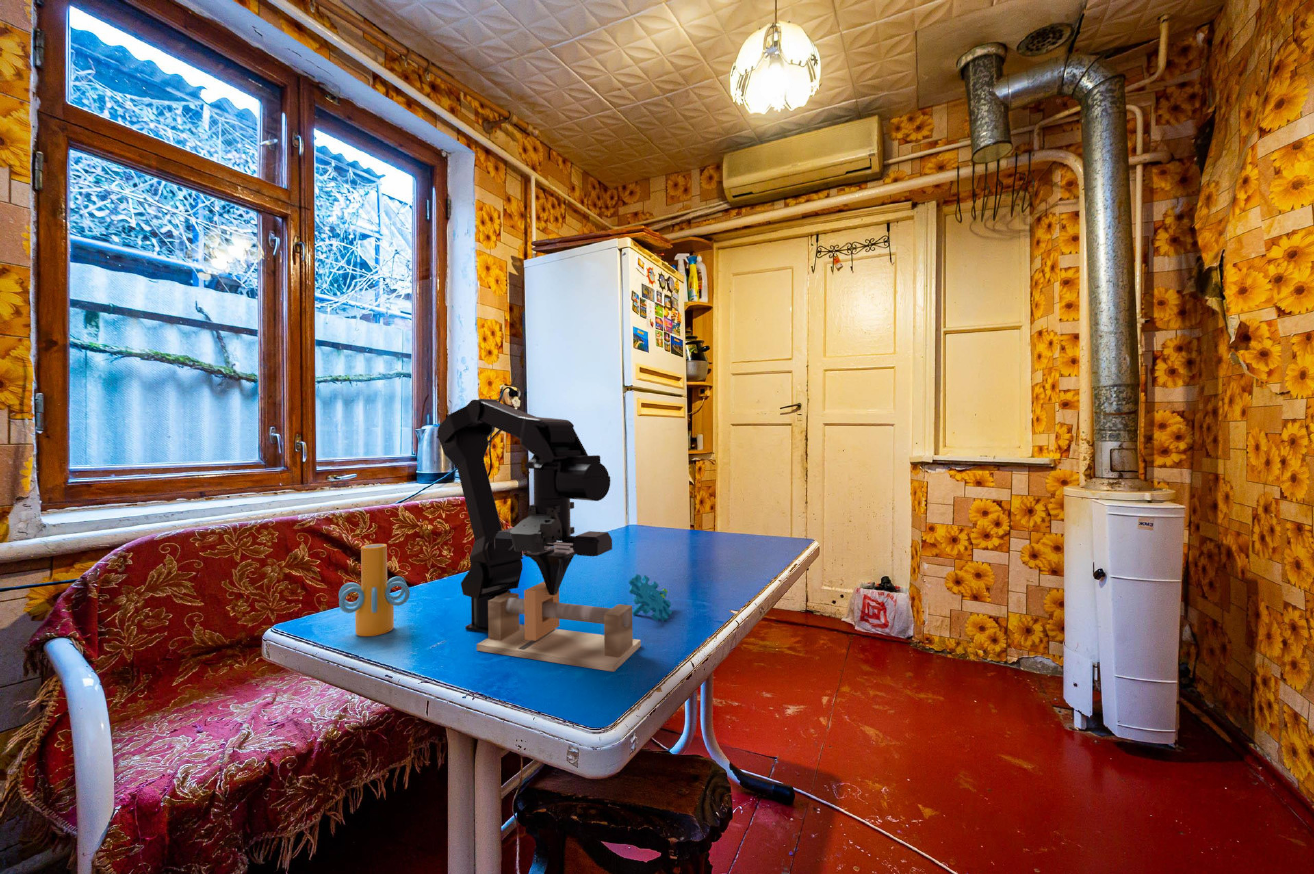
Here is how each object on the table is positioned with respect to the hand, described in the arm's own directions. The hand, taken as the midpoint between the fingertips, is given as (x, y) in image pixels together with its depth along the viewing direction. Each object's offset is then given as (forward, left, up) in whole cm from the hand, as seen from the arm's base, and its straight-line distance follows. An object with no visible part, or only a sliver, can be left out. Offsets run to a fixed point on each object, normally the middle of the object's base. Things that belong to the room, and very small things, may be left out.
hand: (553, 594), depth 86 cm
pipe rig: (+1, 0, -8) cm, 8 cm away
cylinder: (-34, -4, -9) cm, 35 cm away
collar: (-2, 0, -6) cm, 7 cm away
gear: (+9, +19, -9) cm, 23 cm away
